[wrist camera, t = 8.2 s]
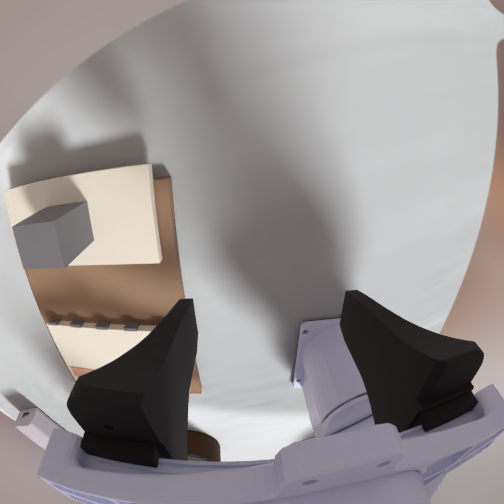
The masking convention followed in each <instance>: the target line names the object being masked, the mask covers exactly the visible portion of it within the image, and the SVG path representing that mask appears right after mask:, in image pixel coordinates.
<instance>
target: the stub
mask: <svg viewBox="0 0 504 504" xmlns="http://www.w3.org/2000/svg"><path fill="white" fill-rule="evenodd" d="M5 196H6V202H7V207H8V213H9V217H10V222H11V226H12V231H13V235H14V239H15V243H16V246H17V250H18V253H19V257H20V260H21V264H22V267H23V268H24V269H54V268H66V267H67V266H76V265H118V264H154V263H160V262H161V260H162V252H161V246H160V238H159V231H158V223H157V214H156V206H155V196H154V185H153V174H152V163H149V164H140V165H131V166H123V167H116V168H109V169H102V170H96V171H90V172H84V173H78V174H73V175H68V176H62V177H57V178H53V179H48V180H43V181H39V182H34V183H30V184H26V185H22V186H18V187H14V188H10V189H8V190H5Z"/></svg>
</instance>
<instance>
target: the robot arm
mask: <svg viewBox="0 0 504 504" xmlns="http://www.w3.org/2000/svg"><path fill="white" fill-rule="evenodd" d="M305 330H307V331H305ZM303 331H305V332H303ZM197 341H198V330H197V324H196V317H195V311H194V304H193V299H179V300H178V301H177V303H176V304H175V305H174V306H173V308H172V309H171V310H170V311H169V312H168V314H167V315H166V316H165V317H164V318H163V319H162V321H161V322H160V323H159V324H158V325H157V326H156V327H155V328H154V329H153V330H152V331H151V332H150V333H149V334H148V335H147V336H146V337H145V338H144V339H143V340H142V341H140V342H139V343H138V344H137V345H136V346H134V347H133V348H132V349H130V350H129V351H127V352H126V353H124V354H123V355H121V356H120V357H118V358H117V359H115V360H113V361H112V362H110V363H108V364H106V365H104V366H102V367H100V368H98V369H96V370H93V371H91V372H89V373H86V374H84V375H81V376H79V377H78V379H77V381H76V383H75V385H74V387H73V389H72V391H71V394H70V396H69V398H68V401H67V407H68V410H69V411H70V413H71V415H72V416H73V417H74V419H75V420H76V421H77V422H78V424H79V425H80V426H81V427H82V429H83V430H84V431H85V433H84V436H83V438H82V437H81V436H79V435H77V434H74V433H71V432H67V431H64V430H61V429H58V428H53V431H52V433H51V436H50V438H49V441H48V444H47V446H46V449H45V452H44V455H43V458H42V461H41V464H40V467H39V470H38V473H37V475H38V476H39V477H40V478H41V479H43V480H44V481H45V482H47V483H48V484H50V485H51V486H53V487H54V488H55V489H57V490H59V491H60V492H62V493H63V494H65V495H66V496H68V497H70V498H72V499H74V500H77V501H80V502H83V503H86V504H431V502H430V499H431V497H432V496H433V494H434V493H435V491H436V490H437V488H438V487H439V485H440V484H441V482H442V481H443V479H444V478H445V476H446V474H447V473H448V472H450V471H451V470H453V469H454V468H457V467H458V466H460V465H461V464H463V463H464V462H466V461H468V460H469V459H471V458H472V457H474V456H475V455H477V454H478V453H480V452H481V451H482V450H484V449H485V448H487V447H488V446H489V445H490V444H491V443H492V442H493V441H494V440H495V439H496V438H497V437H498V436H499V435H500V434H501V433H502V432H503V431H504V399H503V398H502V396H501V395H500V393H499V392H498V390H497V389H496V388H495V386H494V385H493V384H491V385H489V386H487V387H485V388H484V389H482V390H480V391H478V392H477V393H476V394H475V395H473V393H472V390H473V387H474V386H473V385H472V383H471V381H472V379H473V378H474V376H475V375H476V373H477V371H478V370H479V368H480V366H481V364H482V362H483V359H484V353H483V352H482V350H481V349H480V348H479V347H478V345H477V344H476V343H475V342H473V341H467V340H461V339H455V338H451V337H448V336H443V335H441V334H437V333H435V332H432V331H429V330H426V329H424V328H422V327H419V326H417V325H415V324H413V323H411V322H409V321H407V320H405V319H403V318H401V317H400V316H398V315H396V314H394V313H393V312H391V311H390V310H388V309H386V308H385V307H383V306H382V305H380V304H379V303H377V302H376V301H374V300H373V299H371V298H370V297H368V296H367V295H365V294H363V293H362V292H360V291H358V290H351V291H346V293H345V298H344V304H343V309H342V314H341V318H337V319H328V320H317V321H306V322H303V323H302V324H301V326H300V333H299V341H298V349H297V357H296V364H295V372H294V379H293V387H294V388H303V392H304V396H305V400H306V404H307V408H308V412H309V416H310V420H311V424H312V427H313V430H314V435H315V438H311V439H307V440H303V441H299V442H294V443H292V444H290V445H288V446H286V447H284V448H282V449H281V450H280V451H279V453H278V454H277V455H276V456H275V459H271V460H258V461H236V462H207V461H188V454H187V425H188V401H189V391H190V385H191V380H192V374H193V369H194V364H195V358H196V353H197Z"/></svg>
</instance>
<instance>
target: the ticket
mask: <svg viewBox="0 0 504 504" xmlns="http://www.w3.org/2000/svg"><path fill="white" fill-rule="evenodd" d="M158 324H159V323H157V325H158ZM47 326H48V329H49V331H50V333H51V335H52V337H53V339H54V341H55V343H56V345H57V347H58V349H59V351H60V353H61V355H62V357H63V359H64V361H65V363H66V365H67V366H68V368H69V370H70V372H71V374H72V375H73V377H74V379H75V380H76V381H77V379H78V377H79V376H81V375H84V374H86V373H89V372H91V371H93V370H96V369H98V368H100V367H102V366H104V365H106V364H108V363H110V362H112V361H113V360H115V359H117V358H118V357H120V356H121V355H123V354H124V353H126V352H127V351H129V350H130V349H132V348H133V347H134V346H136V345H137V344H138V343H139V342H140V341H142V340H143V339H144V338H145V337H146V336H147V335H148V334H149V333H150V332H151V331H152V330H153V329H154V328H155V327H156V326H152V325H139V323H138V322H126V324H125V325H121V324H110V322H109V321H98V322H97V323H86V322H84V321H83V320H79V319H73V320H72V321H62V320H60V318H55V317H51V318H50V320H49V321H48V322H47ZM189 394H190V391H189Z"/></svg>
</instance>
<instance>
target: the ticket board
mask: <svg viewBox="0 0 504 504" xmlns="http://www.w3.org/2000/svg"><path fill="white" fill-rule="evenodd" d="M153 185H154V196H155V206H156V214H157V223H158V231H159V238H160V246H161V252H162V260H161V262H160V263H154V264H118V265H76V266H67V267H66V268H54V269H25V272H26V275H27V278H28V281H29V284H30V287H31V289H32V292H33V295H34V297H35V300H36V302H37V305H38V307H39V310H40V312H41V315H42V317H43V319H44V322H45V324H46V326H47V322H48V321H49V320H50V318H51V317H55V318H60V320H62V321H72V320H73V319H79V320H83V321H84V322H86V323H97V322H98V321H109V322H110V324H121V325H125V324H126V322H138V323H139V325H152V326H157V323H160V322H161V321H162V319H163V318H164V317H165V316H166V315H167V314H168V312H169V311H170V310H171V309H172V308H173V306H174V305H175V304H176V303H177V301H178V300H179V299H185V295H184V289H183V282H182V275H181V268H180V260H179V252H178V244H177V235H176V226H175V216H174V206H173V194H172V181H171V177H165V178H153ZM47 328H48V326H47ZM48 330H49V329H48ZM49 333H50V331H49ZM50 335H51V333H50ZM51 337H52V335H51ZM52 339H53V337H52ZM53 341H54V339H53ZM54 343H55V341H54ZM55 345H56V343H55ZM56 347H57V345H56ZM57 349H58V347H57ZM58 351H59V349H58ZM59 353H60V351H59ZM60 355H61V353H60ZM61 357H62V355H61ZM62 359H63V357H62ZM63 361H64V359H63ZM64 362H65V361H64ZM65 364H66V363H65ZM66 366H67V365H66ZM67 368H68V366H67ZM68 370H69V368H68ZM69 371H70V370H69ZM70 373H71V372H70ZM71 375H72V374H71ZM72 377H73V375H72ZM73 378H74V377H73ZM74 380H75V379H74ZM75 382H76V380H75ZM190 393H196V394H201V382H200V377H199V373H198V368H197V363H196V358H195V364H194V369H193V374H192V380H191V385H190Z"/></svg>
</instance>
